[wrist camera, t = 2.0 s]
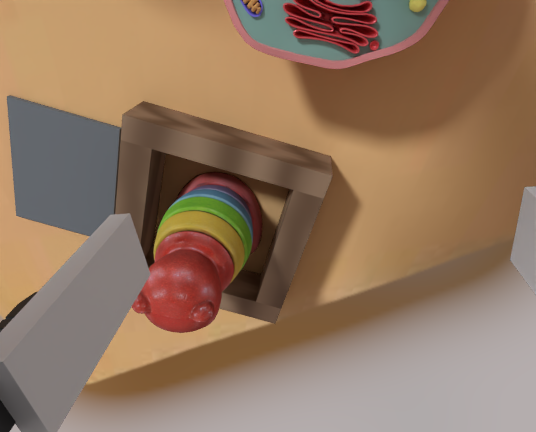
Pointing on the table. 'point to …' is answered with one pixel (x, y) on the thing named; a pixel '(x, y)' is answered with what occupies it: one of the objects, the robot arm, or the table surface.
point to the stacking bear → (199, 252)
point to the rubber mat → (63, 166)
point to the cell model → (333, 28)
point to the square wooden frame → (234, 160)
